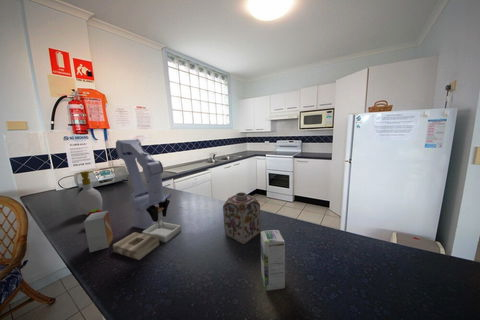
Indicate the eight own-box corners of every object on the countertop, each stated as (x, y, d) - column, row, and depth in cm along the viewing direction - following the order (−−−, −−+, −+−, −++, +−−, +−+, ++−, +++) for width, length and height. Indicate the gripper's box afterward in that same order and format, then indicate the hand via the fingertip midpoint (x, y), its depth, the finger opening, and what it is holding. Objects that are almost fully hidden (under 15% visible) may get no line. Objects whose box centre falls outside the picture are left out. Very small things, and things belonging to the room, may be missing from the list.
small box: (109, 247, 69) (103, 217, 67) (89, 253, 67) (82, 222, 65) (113, 237, 76) (108, 210, 74) (95, 241, 74) (90, 213, 72)
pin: (152, 228, 74) (150, 208, 74) (160, 224, 78) (158, 205, 78) (159, 230, 73) (158, 209, 72) (167, 225, 77) (165, 206, 76)
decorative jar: (261, 232, 74) (260, 192, 71) (244, 245, 66) (241, 201, 63) (241, 223, 82) (239, 187, 80) (223, 234, 74) (220, 195, 71)
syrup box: (260, 274, 52) (259, 230, 50) (279, 272, 52) (278, 228, 50) (265, 291, 46) (263, 243, 44) (286, 288, 47) (285, 240, 45)
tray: (142, 237, 75) (142, 231, 75) (159, 226, 84) (159, 221, 84) (165, 242, 70) (165, 237, 70) (181, 230, 79) (180, 225, 79)
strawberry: (96, 228, 85) (93, 209, 84) (86, 227, 87) (82, 208, 86) (108, 222, 91) (105, 204, 89) (98, 221, 93) (94, 203, 91)
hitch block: (114, 251, 66) (112, 244, 66) (135, 238, 75) (134, 232, 74) (139, 260, 61) (137, 252, 61) (159, 244, 69) (158, 237, 69)
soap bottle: (110, 210, 106) (102, 169, 102) (95, 217, 98) (86, 173, 94) (91, 209, 109) (83, 170, 105) (75, 216, 100) (66, 173, 97)
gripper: (147, 196, 65) (152, 228, 67) (174, 184, 79) (178, 212, 81) (135, 194, 68) (139, 226, 70) (163, 184, 81) (166, 210, 83)
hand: (159, 218), depth 76 cm, fingers closed on pin, 4 cm apart
